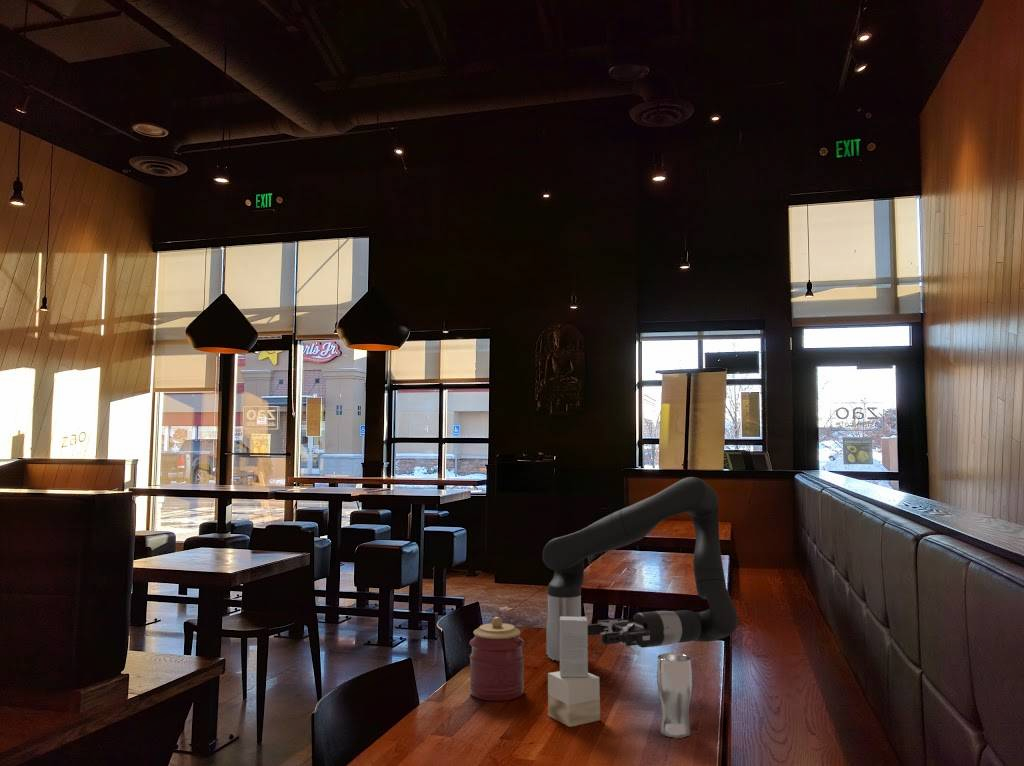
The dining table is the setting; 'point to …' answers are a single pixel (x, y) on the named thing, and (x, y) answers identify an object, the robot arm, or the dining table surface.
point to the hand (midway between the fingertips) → (593, 634)
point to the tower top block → (573, 688)
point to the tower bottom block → (574, 711)
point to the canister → (496, 662)
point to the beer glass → (674, 693)
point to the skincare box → (573, 646)
